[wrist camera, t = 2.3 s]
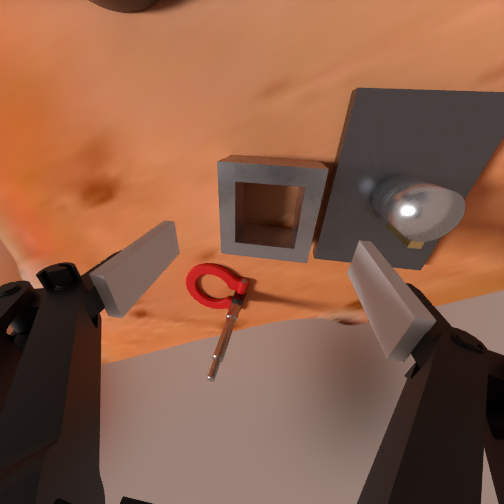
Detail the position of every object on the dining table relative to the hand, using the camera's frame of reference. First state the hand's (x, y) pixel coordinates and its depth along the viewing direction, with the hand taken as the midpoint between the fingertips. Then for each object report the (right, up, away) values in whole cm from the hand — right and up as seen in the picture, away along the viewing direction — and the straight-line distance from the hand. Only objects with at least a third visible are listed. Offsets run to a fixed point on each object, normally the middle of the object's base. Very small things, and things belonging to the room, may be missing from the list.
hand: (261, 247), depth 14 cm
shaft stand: (+13, +6, +6) cm, 16 cm away
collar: (+1, +5, +8) cm, 10 cm away
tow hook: (-6, -6, +16) cm, 18 cm away
